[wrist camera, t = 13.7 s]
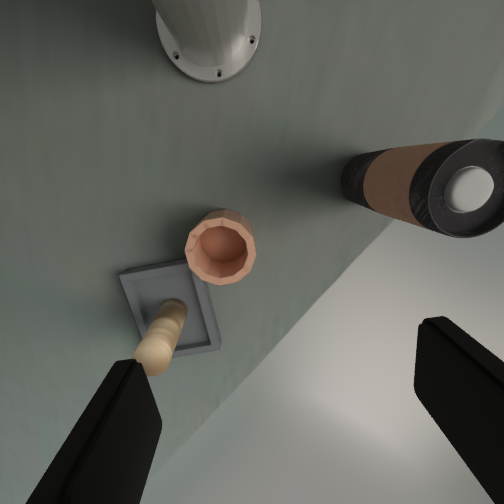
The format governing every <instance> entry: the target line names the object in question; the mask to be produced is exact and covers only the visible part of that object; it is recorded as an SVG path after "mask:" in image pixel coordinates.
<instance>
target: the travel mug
mask: <svg viewBox="0 0 504 504" xmlns="http://www.w3.org/2000/svg"><path fill="white" fill-rule="evenodd" d="M341 188H342V191H343V193H344V194H345V196H346V197H347V198H348V199H349V200H351V201H352V202H355V203H357V204H359V205H361V206H364V207H366V208H369V209H371V210H373V211H376V212H378V213H380V214H383V215H386V216H389V217H392V218H395V219H398V220H402V221H405V222H408V223H411V224H414V225H417V226H420V227H423V228H426V229H429V230H432V231H435V232H438V233H441V234H444V235H447V236H451V237H456V238H471V237H476V236H480V235H483V234H486V233H488V232H490V231H492V230H493V229H495V228H496V227H498V226H499V225H500V224H502V223H503V222H504V141H500V140H490V139H471V140H462V141H453V142H443V143H434V144H425V145H415V146H406V147H397V148H391V149H386V150H380V151H375V152H370V153H365V154H361V155H359V156H356V157H355V158H353V159H352V160H351V161H350V162H349V163H348V164H347V165H346V166H345V168H344V170H343V172H342V176H341Z"/></svg>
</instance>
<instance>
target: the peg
mask: <svg viewBox="0 0 504 504" xmlns="http://www.w3.org/2000/svg"><path fill="white" fill-rule="evenodd" d="M187 314H188V308H187V306H186V304H185V303H184V302H183V301H182V300H180V299H176V298H170V299H167V300H166V301H164V302H163V304H162V305H161V307H160V309H159V310H158V312H157V314H156V316H155V317H154V319H153V321H152V323H151V324H150V326H149V328H148V329H147V331H146V333H145V335H144V336H143V338H142V340H141V342H140V343H139V345H138V347H137V349H136V350H135V352H134V354H133V356H132V359H136V360H137V362H138V363H139V362H140V363H142V365H143V368H144V371H145V374H146V375H147V376H157V375H160V374H162V373H164V372H165V371H166V370H167V368H168V366H169V363H170V360H171V358H172V355H173V352H174V350H175V347H176V344H177V341H178V339H179V336H180V333H181V330H182V328H183V325H184V322H185V319H186V317H187Z"/></svg>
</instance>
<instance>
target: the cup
mask: <svg viewBox="0 0 504 504" xmlns="http://www.w3.org/2000/svg"><path fill="white" fill-rule="evenodd" d="M185 254H186V257H187V261H188V265H189V268H190V269H191V270H192V271H193V272H194V273H195V274H196V275H197V276H198V277H199V278H200V279H201V280H203V281H207V282H210V283H213V284H216V285H224V284H230V283H235V282H238V281H239V280H240V279H241V278H243V277H244V276H245V275H246V274H247V273H249V272H250V270H251V268H252V265H253V263H254V260H255V257H256V249H255V240H254V235H253V230H252V226H251V225H250V223H249V222H248V221H247V220H246V219H245V218H244V217H243V215H242V214H240V213H237V212H234V211H231V210H228V209H223V210H217V211H212V212H210V213H209V214H207V215H206V216H205V217H204V218H203V219H202V220H201V221H200V222H199V223H198V224H197V225H196V226H195V227H194V228H193V230H192V231H191V232H190V233H189V237H188V240H187V244H186V247H185Z"/></svg>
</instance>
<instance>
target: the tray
mask: <svg viewBox="0 0 504 504" xmlns="http://www.w3.org/2000/svg"><path fill="white" fill-rule="evenodd" d="M119 277H120V280H121V282H122V285H123V288H124V291H125V293H126V296H127V299H128V302H129V304H130V307H131V310H132V312H133V315H134V318H135V321H136V323H137V326H138V329H139V331H140V334H141V337H142V338H143V336H144V335H145V333H146V331H147V329H148V328H149V326H150V324H151V323H152V321H153V319H154V317H155V316H156V314H157V312H158V310H159V309H160V307H161V305H162V304H163V302H164V301H166V300H167V299H170V298H176V299H180V300H182V301H183V302H184V303H185V304H186V306H187V308H188V314H187V317H186V319H185V322H184V325H183V328H182V330H181V333H180V336H179V339H178V341H177V344H176V347H175V350H174V352H173V355H172V358H175V357H181V356H186V355H192V354H198V353H204V352H210V351H216V350H220V347H221V337H220V333H219V329H218V325H217V322H216V318H215V314H214V310H213V306H212V302H211V298H210V295H209V291H208V287H207V283H206V281H203V280H201V279H200V278H199V277H198V276H197V275H196V274H195V273H194V272H193V271H192V270H191V269H190V268H189V265H188V261H187V258H186V259H181V260H175V261H170V262H164V263H159V264H153V265H148V266H142V267H137V268H132V269H126V270H125V271H124V272H123V273H121V274H120V275H119Z"/></svg>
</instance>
